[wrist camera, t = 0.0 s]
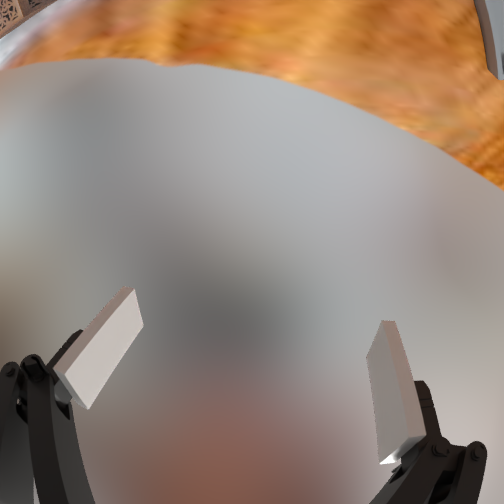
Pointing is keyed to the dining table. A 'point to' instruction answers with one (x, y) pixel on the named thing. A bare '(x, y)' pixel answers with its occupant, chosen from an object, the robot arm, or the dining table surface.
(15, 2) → the tissue box cover
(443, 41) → the dining table surface
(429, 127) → the dining table surface
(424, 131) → the dining table surface
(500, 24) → the box
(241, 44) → the dining table surface
